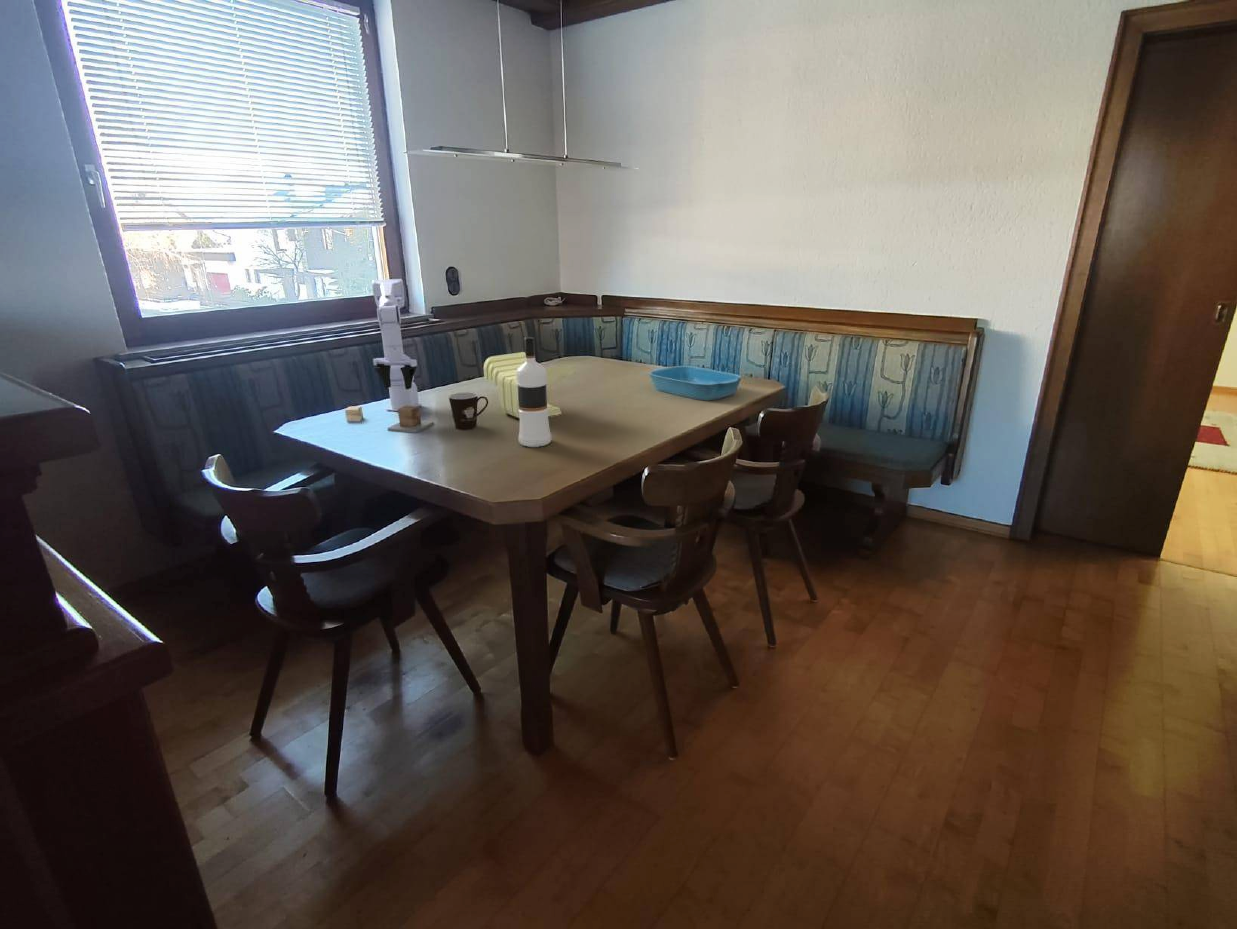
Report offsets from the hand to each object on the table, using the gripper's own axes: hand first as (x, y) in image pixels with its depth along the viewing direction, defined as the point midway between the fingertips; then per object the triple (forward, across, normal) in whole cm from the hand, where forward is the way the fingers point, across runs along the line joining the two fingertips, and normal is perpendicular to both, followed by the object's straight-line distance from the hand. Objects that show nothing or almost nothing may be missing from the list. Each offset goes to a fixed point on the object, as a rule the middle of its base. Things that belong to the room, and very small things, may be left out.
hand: (398, 388), depth 207 cm
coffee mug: (+11, +26, -2) cm, 28 cm away
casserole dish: (+11, +84, +61) cm, 104 cm away
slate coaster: (+11, +8, -6) cm, 15 cm away
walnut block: (+10, +8, -7) cm, 14 cm away
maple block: (+10, -15, -4) cm, 19 cm away
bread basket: (+11, +38, +16) cm, 42 cm away
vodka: (+11, +52, -12) cm, 54 cm away
